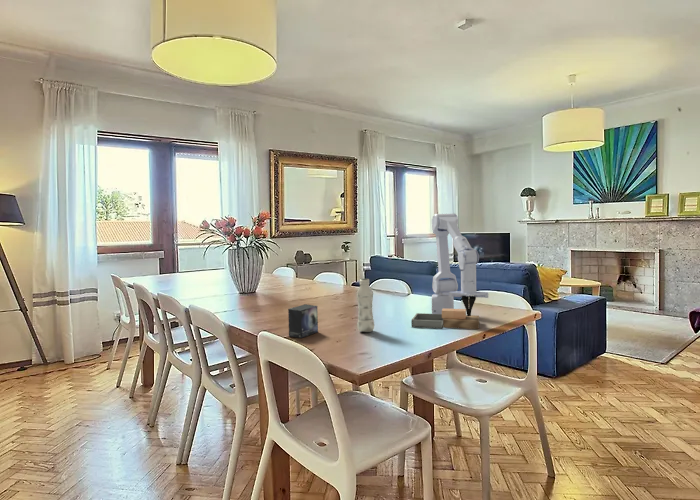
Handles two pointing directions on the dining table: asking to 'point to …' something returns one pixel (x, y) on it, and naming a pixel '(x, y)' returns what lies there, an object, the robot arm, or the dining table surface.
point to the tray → (427, 320)
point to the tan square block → (447, 313)
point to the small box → (303, 320)
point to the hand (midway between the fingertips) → (469, 315)
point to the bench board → (462, 322)
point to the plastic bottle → (365, 307)
